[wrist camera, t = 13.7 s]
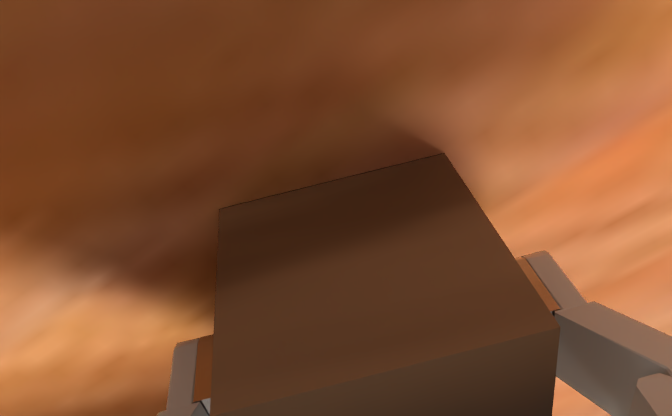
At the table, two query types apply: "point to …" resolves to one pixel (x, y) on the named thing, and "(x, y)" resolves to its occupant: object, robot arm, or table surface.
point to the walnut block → (376, 304)
